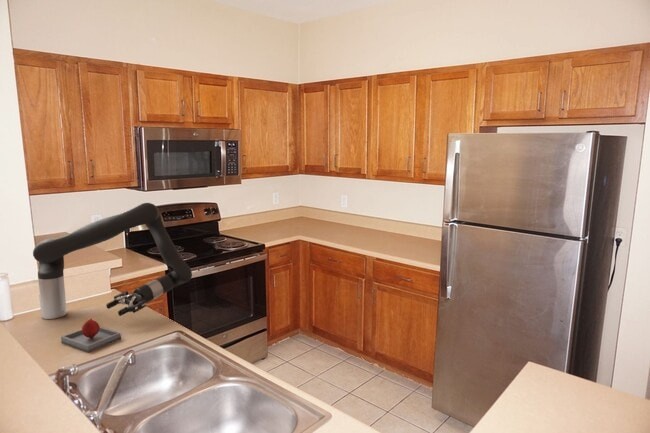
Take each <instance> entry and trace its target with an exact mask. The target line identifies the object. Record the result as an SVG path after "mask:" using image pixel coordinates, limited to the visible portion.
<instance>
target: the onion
mask: <svg viewBox="0 0 650 433" xmlns="http://www.w3.org/2000/svg"><path fill="white" fill-rule="evenodd" d="M99 326H100V324H99V323H98V322H97V321H96V320H94V319H93V317H89V318H88V319H87V320H86V321H85V322H84V323H83V324H82V326H81V329H82V334H83V335H84V336H86V337H88V338H93V337H94V336H95V335H97V333H98V332H99V329H100V327H101V326H100V327H99Z"/></svg>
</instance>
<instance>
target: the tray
mask: <svg viewBox="0 0 650 433" xmlns="http://www.w3.org/2000/svg"><path fill="white" fill-rule="evenodd" d="M99 327H100V329H99V332H98V333H97V335H95V336H94V337H93V338H88V337H86V336H84V335H83V334H82V328H81V329H78V330H76V331H74V332H73V331H72V332H70V333H67V334H64V335H62V336H61V337H60V343H61V344H62V345H64V346H69V347H71V348H73V349H77V350H79V351H83V352H84V353H88V354H89V353H92V352H94V351H96V350H98V349H102V348H104V347H106V346H108V345H111V344H113V343H115V342H117V341H120V340H121V339H122V335H121V332H119V331H116V330H112V329H109V328H106V327H104V326H103V327H102V326H100V325H99Z"/></svg>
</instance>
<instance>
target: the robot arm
mask: <svg viewBox="0 0 650 433" xmlns="http://www.w3.org/2000/svg"><path fill="white" fill-rule="evenodd" d="M160 213H161V212H160V210H159V207H157V206H156V205H155V204H153V203H152V202H144V203H141V204H139V205H136V206H135V207H133V208H130V209H129V210H127V211H124V212H122V213H120V214H116V215H112V216H111V215H110V216H108V217H104V218H102V219H99V220H95V221H93V222H91V223H88V224H85V225H84V226H81V227H79V228H78V229H76V230H74V231H72V232H70V233H68V234H67V235H63V236H60V237H57V238H52V237H51V238H50V237H49V238H45V239H43V240H42V241H40V242H38V243H37V244H36V245H35V247H34V249H33V251H32V254H33V258H34V260H36V261H37V262H38V271H37V279H38V280H37V281H38V290H39V295H38V296H39V304H40V316H41V318H42V319H44V320H52V319H53V320H55V319H58V318H62V317H65V316H66V315H67V314H68V310H67V299H66V288H65V277H64V269H65V259H64V258H65V256H67V255H68V254H71V253H73V252H76V251H78V250H82V249H86V248H89V247H92V246H96V245H99V244H101V243H103V242H106V241H108V240H111V239H113V238H115V237H116V236H118V235H121V234H122V233H124V232H126V231H128V230H129V229H133V228H136V227H139V226H143V225H145V226H146V227H147V229H148V230H149V232H150V234H151V235H152V237H153V238H152V239H153V240H154V242H155V244H156V247H157V250H158V252H159V254H160V256H161V258H162V260H163V262H164V263H165V265H166V266H167V267H171V268H172V269H173V270H172V271H170V272H169V273H167V274H164V275H163V276H160V277H158V278H156V279H154V280H150V281H148V282H146V283H144V284H142V285H141V286H137V287H136V288H135V289H134V291H133V292H132V293H129V291H128V290H126V291H123V292H121V293H119V294H116V295H114V296H113V300H112V301H110V302H108V303H106V305H105V306H106V308H107V310H109V309H112V308H114V307H115V306H116V307H117V305H126V306H125V307H123V308H121V309H118V310H117V314H118V316H120V317H122V316H124V315H125V314H128V313H133V314H135V313H137V312H139V311H140V310H142V309H144V308H145V307H147V304H148V303H149V302H152V301H153V300H155V299H158V298H159V297H161V296H162V295H164V294H166V293H168V292H169V291H171V290H173V289H174V288H176V287H178V286H179V285H183V284H185V283H188V282H190V280H192V277H193V272H192V269H191V267H190V266H189V264H188V263H187V262H186V261H185V259H183V258H182V257H181V255H180V254H179V251H178V249H177V247H176V245H175V244H174V241H172V239H171V237H170V235H169V233H168V232H167V229H166V228H165V225H164V223H163V221H162V220H163V219H162V218H161V214H160Z"/></svg>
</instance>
